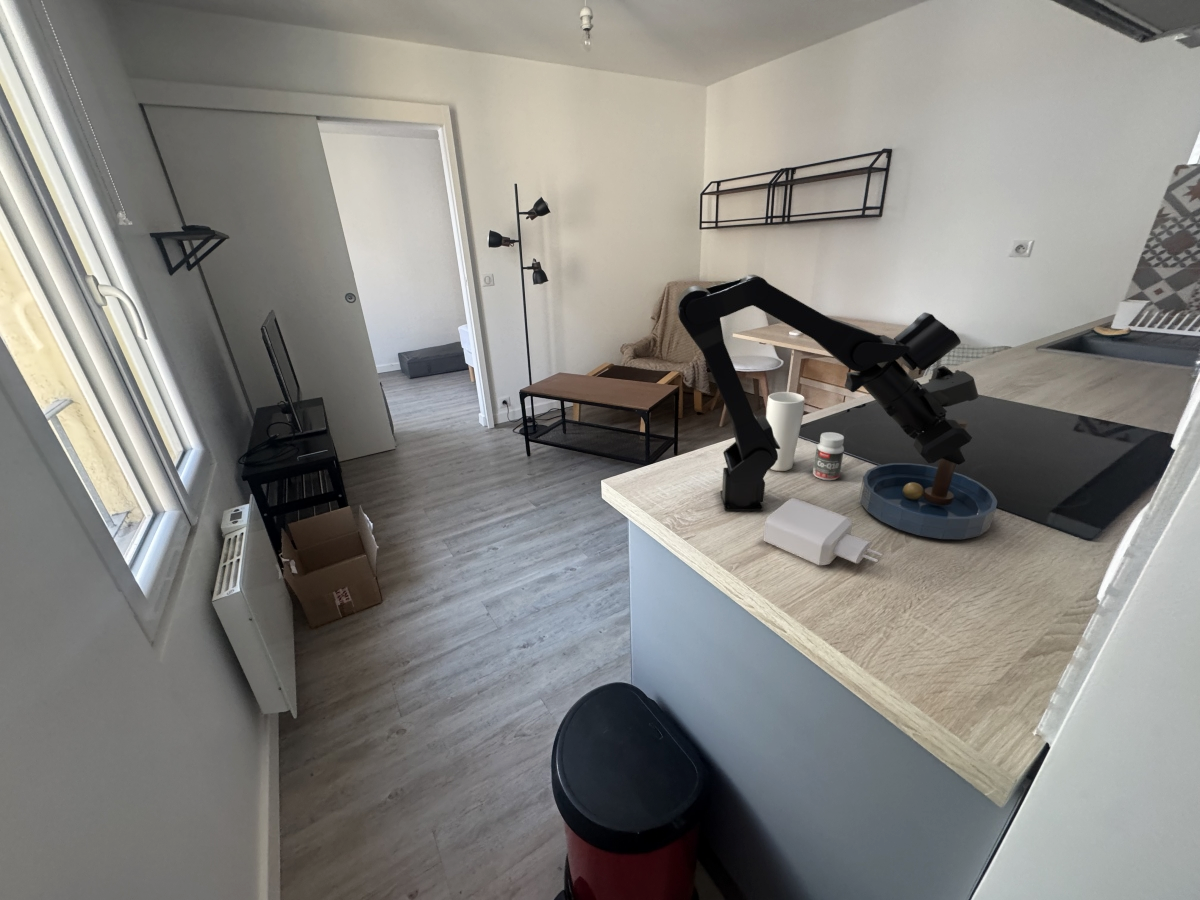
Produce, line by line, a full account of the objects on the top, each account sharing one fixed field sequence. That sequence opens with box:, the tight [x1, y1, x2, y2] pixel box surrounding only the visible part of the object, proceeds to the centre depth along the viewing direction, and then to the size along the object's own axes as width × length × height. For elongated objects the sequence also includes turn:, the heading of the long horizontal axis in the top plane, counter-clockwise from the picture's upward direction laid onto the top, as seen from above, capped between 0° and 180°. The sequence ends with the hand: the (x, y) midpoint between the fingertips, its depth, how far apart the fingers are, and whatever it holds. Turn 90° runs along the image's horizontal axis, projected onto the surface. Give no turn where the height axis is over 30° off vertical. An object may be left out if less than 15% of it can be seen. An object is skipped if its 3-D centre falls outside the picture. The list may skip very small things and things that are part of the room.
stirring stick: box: [923, 418, 969, 505], centre depth 75 cm, size 4×4×14 cm
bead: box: [903, 482, 924, 500], centre depth 80 cm, size 3×3×3 cm
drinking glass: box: [765, 391, 806, 472], centre depth 93 cm, size 7×7×15 cm
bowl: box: [859, 462, 998, 540], centre depth 78 cm, size 18×18×4 cm
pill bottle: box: [812, 431, 845, 481], centre depth 90 cm, size 5×5×8 cm
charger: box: [763, 497, 884, 566], centre depth 70 cm, size 5×9×15 cm
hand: (958, 459), depth 75 cm, fingers closed on stirring stick, 2 cm apart
